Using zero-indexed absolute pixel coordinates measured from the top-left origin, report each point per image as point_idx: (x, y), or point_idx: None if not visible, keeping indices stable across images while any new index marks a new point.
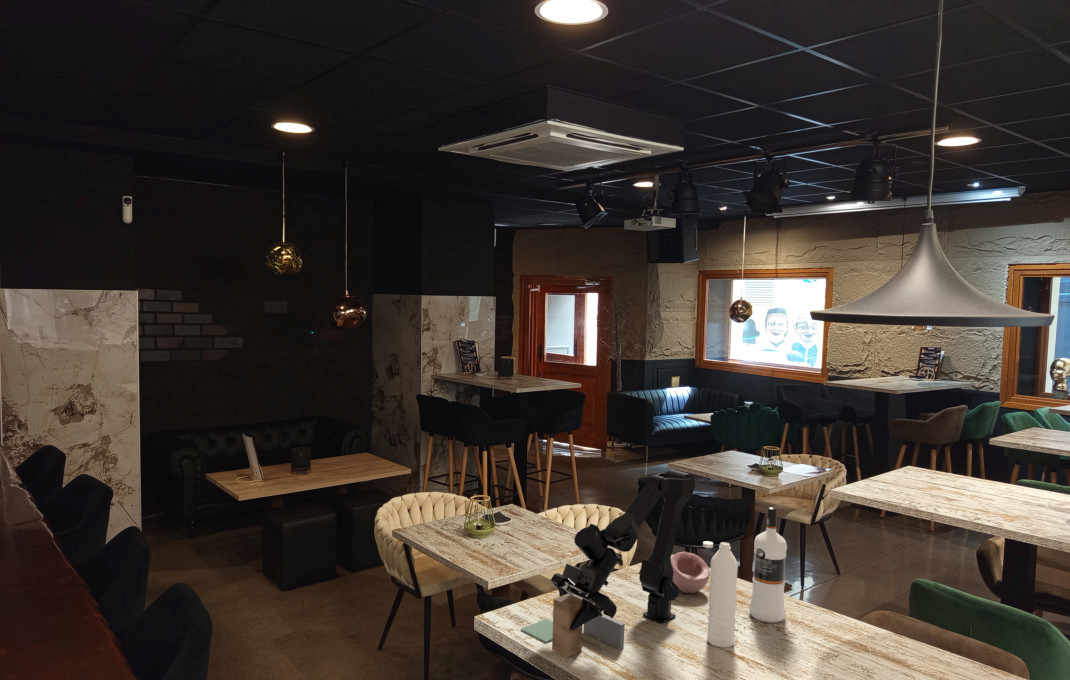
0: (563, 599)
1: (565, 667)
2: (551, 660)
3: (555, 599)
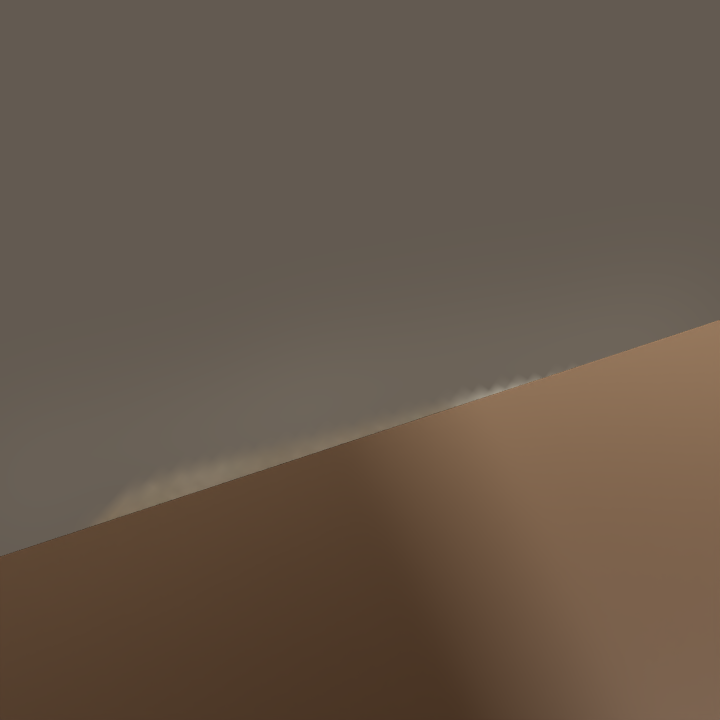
0: (623, 685)
1: (167, 495)
2: (310, 444)
3: (677, 341)
